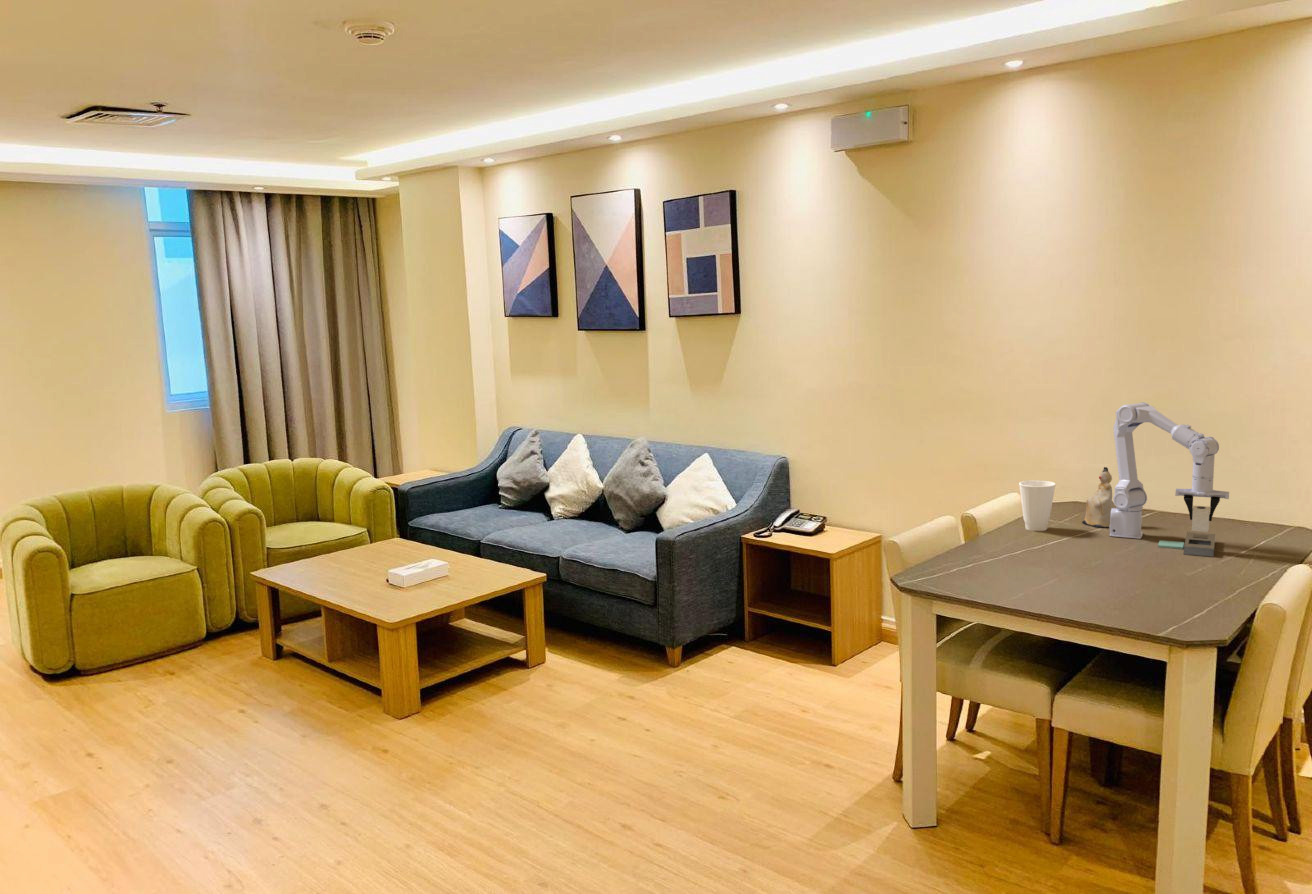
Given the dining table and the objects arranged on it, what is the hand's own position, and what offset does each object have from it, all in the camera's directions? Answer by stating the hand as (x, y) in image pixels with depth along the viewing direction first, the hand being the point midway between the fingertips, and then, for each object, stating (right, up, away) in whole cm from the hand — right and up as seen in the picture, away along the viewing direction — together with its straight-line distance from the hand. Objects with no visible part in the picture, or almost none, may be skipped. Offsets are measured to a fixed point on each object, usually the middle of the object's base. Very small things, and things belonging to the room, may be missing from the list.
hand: (1200, 519), depth 310 cm
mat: (-5, -9, +8) cm, 13 cm away
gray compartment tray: (+2, -9, +4) cm, 10 cm away
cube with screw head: (0, -3, 0) cm, 3 cm away
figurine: (-13, -5, +39) cm, 42 cm away
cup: (-37, -6, +36) cm, 52 cm away
